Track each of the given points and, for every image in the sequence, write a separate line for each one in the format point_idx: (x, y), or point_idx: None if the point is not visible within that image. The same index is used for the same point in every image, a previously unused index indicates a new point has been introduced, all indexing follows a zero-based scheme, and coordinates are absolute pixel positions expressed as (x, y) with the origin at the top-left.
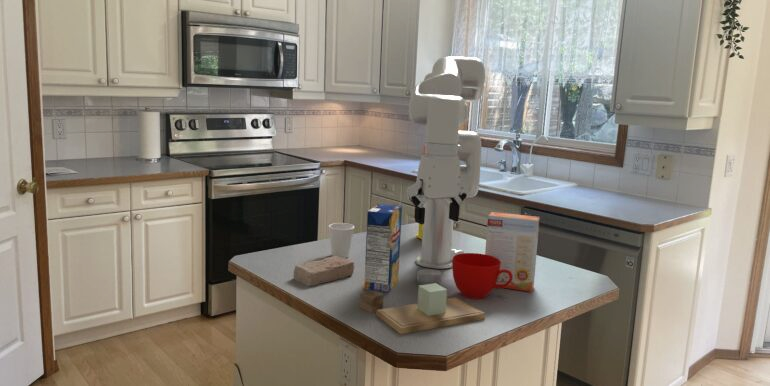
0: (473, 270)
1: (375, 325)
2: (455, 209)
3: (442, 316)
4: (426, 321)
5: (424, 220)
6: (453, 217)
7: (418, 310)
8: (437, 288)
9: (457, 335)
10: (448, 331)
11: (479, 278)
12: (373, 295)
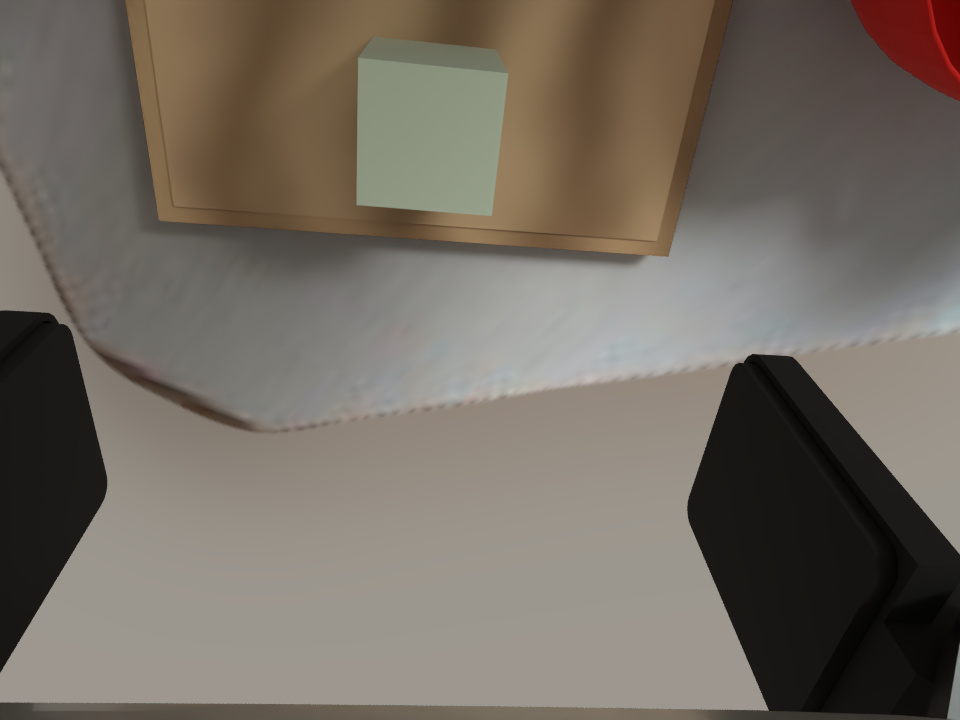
0: (918, 48)
1: (75, 49)
2: (758, 648)
3: None
4: (321, 216)
5: (85, 529)
6: (714, 495)
7: None
8: (446, 173)
9: (415, 326)
10: (404, 279)
11: (911, 72)
12: None
